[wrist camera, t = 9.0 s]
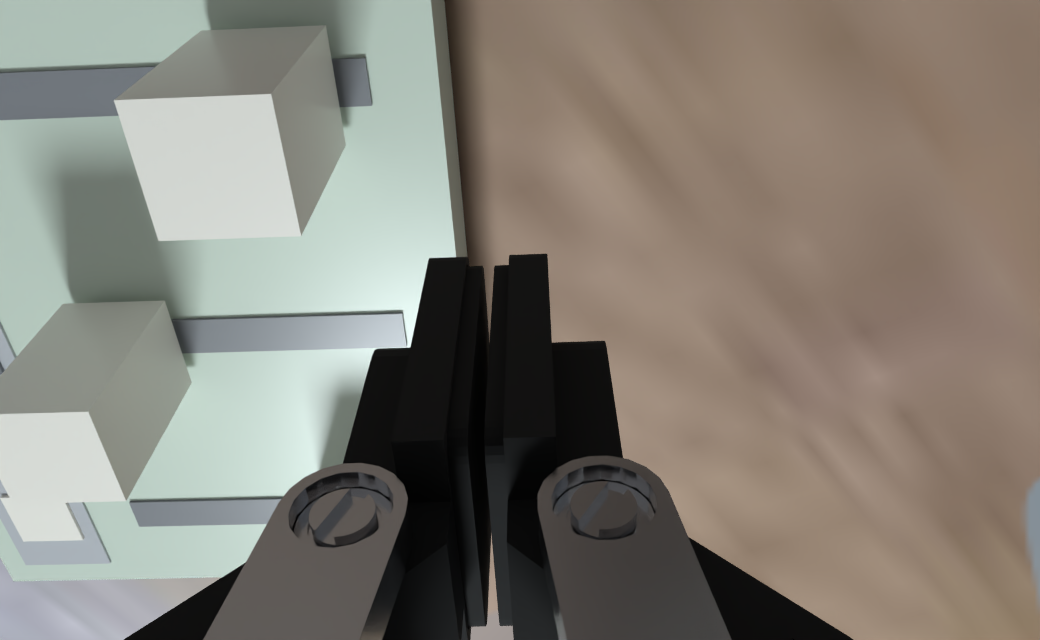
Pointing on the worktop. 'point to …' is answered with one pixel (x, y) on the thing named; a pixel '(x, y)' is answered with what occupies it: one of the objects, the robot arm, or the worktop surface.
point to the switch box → (217, 266)
